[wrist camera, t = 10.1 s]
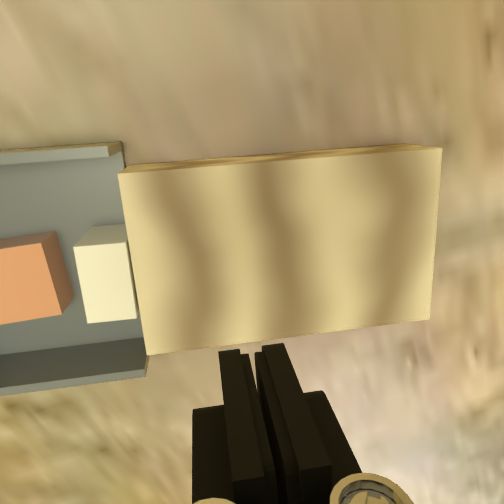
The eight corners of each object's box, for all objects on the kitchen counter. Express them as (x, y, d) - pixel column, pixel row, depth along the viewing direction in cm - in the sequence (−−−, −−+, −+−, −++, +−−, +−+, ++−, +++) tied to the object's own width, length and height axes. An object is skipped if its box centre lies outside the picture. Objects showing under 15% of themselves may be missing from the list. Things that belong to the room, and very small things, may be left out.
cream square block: (125, 242, 25) (73, 247, 25) (136, 318, 26) (87, 323, 26) (136, 223, 30) (92, 226, 29) (144, 288, 31) (103, 292, 31)
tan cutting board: (404, 143, 31) (442, 148, 26) (397, 292, 35) (429, 319, 30) (129, 165, 29) (117, 173, 24) (153, 321, 33) (146, 355, 28)
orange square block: (-44, 255, 26) (-20, 242, 29) (-17, 327, 27) (3, 308, 30) (41, 242, 26) (55, 230, 29) (62, 314, 28) (74, 296, 31)
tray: (121, 141, 28) (107, 145, 24) (152, 339, 33) (145, 376, 28) (-73, 155, 27) (-129, 162, 22) (-12, 360, 32) (-48, 402, 27)
